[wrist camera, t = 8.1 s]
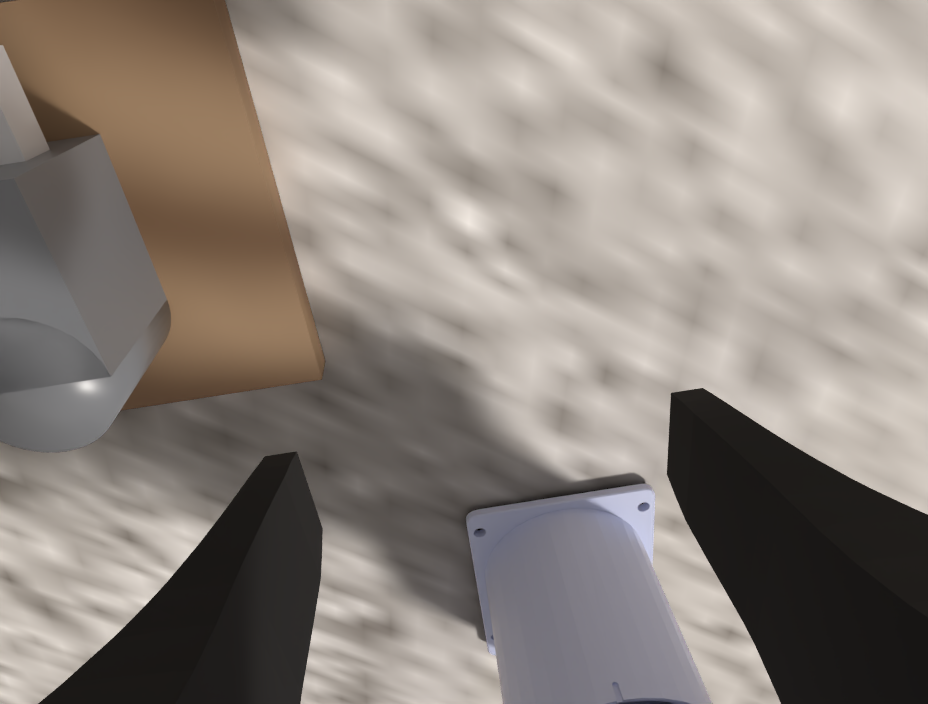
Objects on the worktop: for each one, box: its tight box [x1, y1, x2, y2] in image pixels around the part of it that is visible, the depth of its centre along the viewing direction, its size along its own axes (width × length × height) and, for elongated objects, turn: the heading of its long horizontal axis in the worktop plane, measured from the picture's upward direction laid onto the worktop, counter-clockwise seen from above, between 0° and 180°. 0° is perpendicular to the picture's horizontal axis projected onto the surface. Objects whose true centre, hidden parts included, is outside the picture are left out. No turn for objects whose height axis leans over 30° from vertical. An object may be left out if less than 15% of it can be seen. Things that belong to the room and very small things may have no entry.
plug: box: [0, 45, 171, 452], centre depth 16 cm, size 9×4×4 cm, turn 7°
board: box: [0, 0, 325, 411], centre depth 19 cm, size 12×12×1 cm
